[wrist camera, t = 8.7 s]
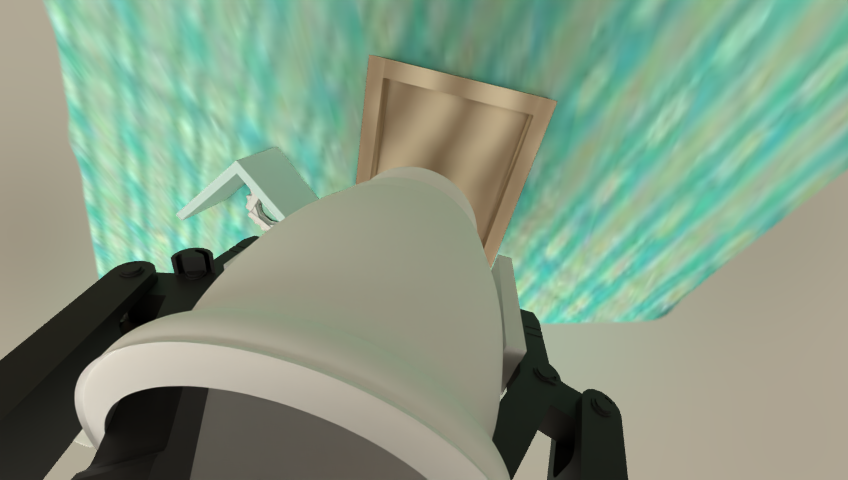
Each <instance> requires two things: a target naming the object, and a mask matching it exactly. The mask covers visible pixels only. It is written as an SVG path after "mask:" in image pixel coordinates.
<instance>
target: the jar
mask: <svg viewBox="0 0 848 480" xmlns="http://www.w3.org/2000/svg"><path fill="white" fill-rule="evenodd" d="M502 369H503V333H502V320H501V312H500V305H499V299H498V294H497V290H496V286H495V282H494V278H493V275H492V272H491V269H490V266H489V263H488V260H487V258H486V255H485V252H484V249H483V246H482V243H481V240H480V237H479V235H478V233H477V225H476V219H475V215H474V212H473V209H472V207H471V205H470V203H469V201H468V199H467V198H466V196H465V195H464V194H463V193H462V191H461V190H460V189H459V188H458V187H457V186H456V185H455V184H454V183H452V182H451V181H450V180H449V179H447V178H446V177H444V176H442V175H440V174H438V173H436V172H434V171H431V170H428V169H424V168H420V167H397V168H393V169H389V170H386V171H384V172H382V173H380V174H378V175H376V176H375V177H373V178H372V179H371V180H369V181H366V182H362V183H359V184H357V185H354V186H352V187H349V188H347V189H345V190H342V191H339V192H336V193H333V194H330V195H328V196H325V197H323V198H321V199H318V200H316V201H314V202H312V203H310V204H308V205H306V206H304V207H302V208H301V209H299V210H297V211H296V212H294V213H292V214H291V215H289V216H288V217H286V218H284V219H283V220H282V221H280V222H279V223H277V224H276V225H275V226H273V227H272V228H271V229H269V230H268V231H267V232H265V233H264V234H263V235H262V236H261V237H259V238H258V239H257V240H256V241H255V242H254V243H252V244H251V245H250V246H249V247H248V248H247V249H246V250H245V251H244V252H243V253H241V254H240V255H239V256H238V257H237V258H236V259H235V260H234V261H233V262H232V263H231V264H230V265H229V266H228V267H227V268H226V269H225V270H224V272H223V273H222V274H221V275H220V276H219V277H218V278H217V279H216V280H215V281H214V283H213V284H212V285H211V286H210V287H209V288H208V290H207V291H206V292H205V293H204V295H203V296H202V297H201V298H200V300H199V301H198V302H197V304H196V305H195V307H194V308H193V309H192V311H186V312H181V313H176V314H172V315H168V316H165V317H161V318H159V319H156V320H153V321H151V322H148V323H146V324H144V325H141V326H139V327H137V328H135V329H134V330H132V331H130V332H128V333H127V334H125V335H124V336H123V337H121V338H120V339H119V340H117V341H116V342H115V343H114V344H113V345H111V346H110V347H109V348H108V349H107V350H106V351H105V352H104V353H103V354H102V355H101V356H100V357H99V358H97V359H96V360H94V361H93V362H92V363H90V364H89V365H88V366H87V367H86V368H85V369H84V371H83V372H82V373H81V375H80V377H79V379H78V381H77V384H76V388H75V407H76V412H77V415H78V418H79V421H80V423H81V426H82V428H83V430H84V431H85V433H86V435H87V437H88V438H89V440H90V441H91V443H92V444H93V446H94V447H95V448H96V450H98V448H99V446H100V443H101V441H102V439H103V437H104V434H105V432H106V430H107V428H108V425H109V423H110V421H111V419H112V416H113V414H114V412H115V410H116V407H117V405H118V403H119V400H120V399H121V398H123V397H125V396H126V395H129V394H131V393H134V392H137V391H140V390H144V389H149V388H154V387H163V386H197V387H207V388H209V390H208V395H207V400H206V404H205V409H204V414H203V419H202V424H201V428H200V433H199V438H198V443H197V447H196V452H195V457H194V462H193V466H192V471H191V476H190V480H510V477H509V473H508V471H507V468H506V466H505V463H504V461H503V459H502V457H501V455H500V453H499V451H498V450H497V448H496V446H495V445H494V443H493V441H492V437H493V434H494V430H495V426H496V421H497V416H498V410H499V403H500V394H501V384H502Z"/></svg>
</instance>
